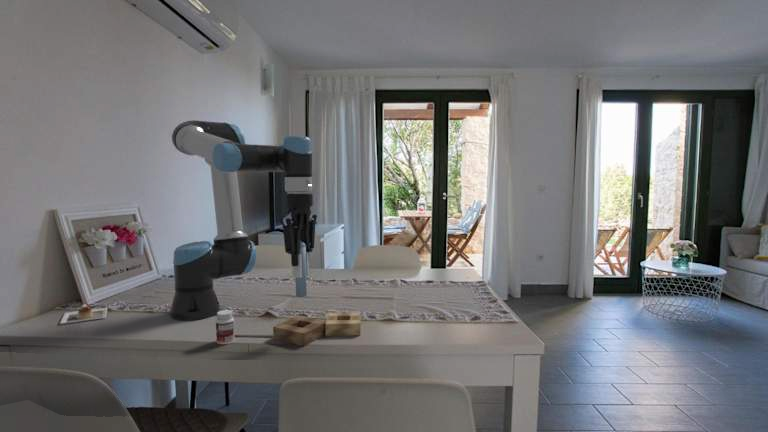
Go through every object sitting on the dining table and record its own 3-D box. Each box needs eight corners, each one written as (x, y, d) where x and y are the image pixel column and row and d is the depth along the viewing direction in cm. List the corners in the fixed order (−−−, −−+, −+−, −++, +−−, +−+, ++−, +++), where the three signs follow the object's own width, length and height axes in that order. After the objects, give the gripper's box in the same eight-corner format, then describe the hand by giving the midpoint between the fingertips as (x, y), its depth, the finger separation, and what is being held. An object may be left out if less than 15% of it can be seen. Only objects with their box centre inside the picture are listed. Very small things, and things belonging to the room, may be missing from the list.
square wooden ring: (273, 338, 121) (273, 326, 121) (298, 326, 131) (297, 315, 131) (304, 346, 116) (304, 333, 116) (328, 332, 126) (328, 321, 126)
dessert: (106, 320, 138) (105, 306, 138) (59, 327, 132) (58, 311, 131) (108, 310, 148) (107, 296, 148) (64, 316, 142) (63, 301, 142)
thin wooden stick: (220, 336, 123) (220, 334, 123) (222, 335, 124) (221, 333, 124) (277, 337, 123) (277, 335, 123) (278, 336, 123) (278, 334, 123)
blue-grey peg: (293, 296, 122) (292, 241, 120) (300, 293, 124) (299, 240, 123) (302, 297, 120) (301, 242, 119) (308, 294, 123) (308, 241, 121)
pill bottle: (219, 338, 122) (218, 309, 121) (236, 338, 122) (235, 309, 121) (214, 345, 117) (213, 315, 116) (232, 344, 117) (231, 314, 116)
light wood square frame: (325, 335, 124) (325, 323, 123) (328, 323, 134) (328, 312, 133) (360, 335, 124) (360, 323, 124) (360, 323, 134) (360, 312, 134)
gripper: (291, 193, 111) (293, 283, 113) (326, 191, 125) (327, 271, 127) (269, 193, 114) (271, 280, 117) (305, 191, 128) (307, 269, 130)
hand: (300, 275), depth 122 cm, fingers closed on blue-grey peg, 2 cm apart
